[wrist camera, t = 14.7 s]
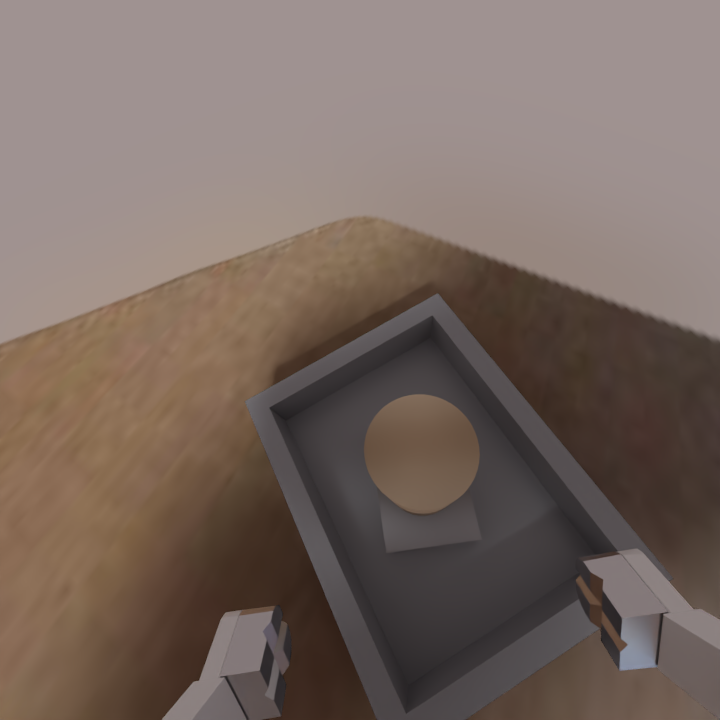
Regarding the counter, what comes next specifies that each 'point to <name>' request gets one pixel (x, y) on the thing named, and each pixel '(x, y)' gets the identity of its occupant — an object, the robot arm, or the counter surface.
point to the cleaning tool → (423, 472)
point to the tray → (445, 562)
